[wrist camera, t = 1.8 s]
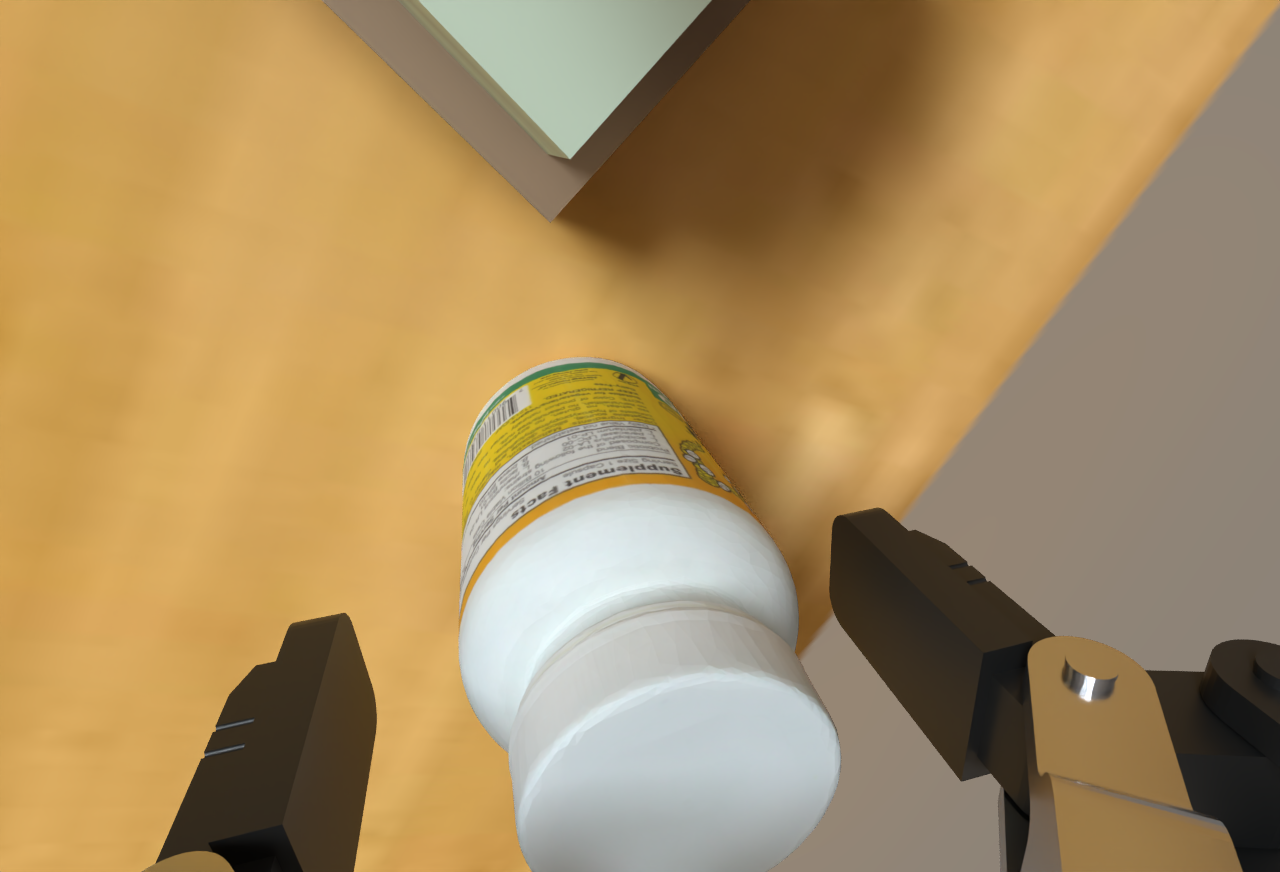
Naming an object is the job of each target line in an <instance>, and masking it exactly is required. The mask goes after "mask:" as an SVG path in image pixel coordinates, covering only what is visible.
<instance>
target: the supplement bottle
mask: <svg viewBox="0 0 1280 872" xmlns="http://www.w3.org/2000/svg"><path fill="white" fill-rule="evenodd" d="M798 626H799V612H798V600H797V594H796V588H795V585H794V582H793V579H792V576H791V572H790V570H789V568H788V565H787V563H786V561H785V559H784V557H783V555H782V553H781V552H780V550H779V548H778V547H777V545H776V544H775V542H774V541H773V539H772V538H771V536H770V535H769V533H768V532H767V531H766V529H765V528H764V527H763V525H762V524H761V522H760V521H759V520H758V518H757V517H756V515H755V514H754V513H753V511H752V510H751V509H750V507H749V506H748V505H747V503H746V502H745V500H744V499H743V497H742V496H741V495H740V493H739V492H738V490H737V489H736V487H735V486H734V485H733V484H732V483H731V481H730V480H729V479H728V477H727V476H726V475H725V473H724V472H723V471H722V469H721V468H720V467H719V465H718V464H717V463H716V462H715V460H714V459H713V458H712V456H711V455H710V454H709V452H708V451H707V450H706V448H705V447H704V446H703V444H702V443H701V441H700V440H699V439H698V437H697V436H696V434H695V433H694V431H693V430H692V429H691V427H690V426H689V425H688V423H687V422H686V421H685V419H684V418H683V416H682V415H681V414H680V412H679V411H678V410H677V409H676V408H675V406H674V405H673V404H672V403H671V401H670V400H669V399H668V398H667V397H666V396H665V395H664V394H663V393H662V392H661V391H660V390H659V389H658V388H657V387H656V386H655V385H654V384H653V383H651V382H650V381H649V380H648V379H646V378H645V377H644V376H643V375H641V374H640V373H638V372H637V371H635V370H633V369H631V368H629V367H627V366H625V365H623V364H621V363H618V362H614V361H611V360H607V359H602V358H593V357H573V358H565V359H559V360H554V361H550V362H546V363H543V364H541V365H538V366H535V367H533V368H531V369H529V370H527V371H525V372H523V373H521V374H520V375H518V376H517V377H515V378H513V379H512V380H510V381H509V382H508V383H507V384H505V385H504V386H503V387H502V388H501V389H499V390H498V391H497V392H496V393H495V394H494V395H493V396H492V397H491V399H490V400H489V401H488V402H487V404H486V405H485V406H484V408H483V409H482V411H481V412H480V413H479V415H478V417H477V419H476V421H475V423H474V425H473V427H472V430H471V432H470V435H469V438H468V441H467V446H466V451H465V457H464V467H463V512H462V556H461V575H460V606H459V663H460V669H461V675H462V681H463V684H464V688H465V691H466V694H467V697H468V699H469V702H470V705H471V707H472V709H473V711H474V712H475V714H476V716H477V718H478V719H479V721H480V722H481V724H482V725H483V727H484V728H485V729H486V731H487V732H488V733H489V735H490V736H491V737H492V738H493V739H494V740H495V741H496V742H497V743H498V744H499V745H500V746H501V747H502V748H503V749H504V750H505V751H507V752H508V753H509V769H510V773H511V777H512V784H513V797H514V809H515V821H516V828H517V836H518V840H519V844H520V848H521V851H522V853H523V856H524V858H525V860H526V862H527V864H528V866H529V867H530V869H531V871H532V872H767V871H769V870H770V869H772V868H773V867H775V866H776V865H778V864H779V863H780V862H782V861H783V860H784V859H785V858H787V857H788V856H789V855H790V854H791V853H792V852H793V851H794V850H796V849H797V848H798V847H799V846H800V845H801V844H802V842H803V841H804V840H805V839H806V838H807V837H808V835H809V834H810V833H811V832H812V831H813V830H814V829H815V828H816V826H817V825H818V823H819V822H820V820H821V819H822V817H823V816H824V814H825V812H826V810H827V808H828V806H829V804H830V802H831V800H832V798H833V796H834V793H835V791H836V788H837V785H838V780H839V775H840V769H841V751H840V744H839V739H838V734H837V729H836V727H835V725H834V723H833V721H832V719H831V716H830V715H829V713H828V711H827V709H826V707H825V706H824V704H823V702H822V700H821V699H820V697H819V695H818V693H817V692H816V690H815V688H814V687H813V685H812V683H811V681H810V679H809V678H808V676H807V674H806V672H805V670H804V668H803V666H802V664H801V662H800V661H799V659H798V657H797V655H796V654H795V648H796V643H797V636H798Z"/></svg>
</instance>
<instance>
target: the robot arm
mask: <svg viewBox="0 0 1280 872" xmlns="http://www.w3.org/2000/svg"><path fill="white" fill-rule="evenodd" d="M829 592H830V599H831V604H832V607H833V611H834V613H835V616H836V618H837V620H838V621H839V623H840V625H841V626H842V628H843V629H844V630H845V632H846V633H847V634H848V635H849V637H850V638H851V639H852V641H853V642H854V643H855V645H856V646H857V647H858V648H859V650H860V651H861V652H862V654H863V655H864V656H865V657H866V659H867V660H868V661H869V663H870V664H871V665H872V666H873V668H874V669H875V670H876V672H877V673H878V674H879V676H880V677H881V678H882V680H883V681H884V682H885V683H886V685H887V686H888V687H889V689H890V690H891V691H892V692H893V694H894V695H895V696H896V698H897V699H898V700H899V702H900V703H901V704H902V705H903V707H904V708H905V709H906V711H907V712H908V713H909V714H910V716H911V717H912V718H913V720H914V721H915V722H916V724H917V725H918V726H919V727H920V729H921V730H922V731H923V733H924V734H925V735H926V736H927V738H928V739H929V740H930V742H931V743H932V744H933V746H934V747H935V748H936V749H937V751H938V752H939V753H940V755H941V756H942V757H943V759H944V760H945V761H946V762H947V764H948V765H949V766H950V768H951V769H952V770H953V771H954V773H955V774H956V775H957V777H958V778H959V779H960V781H966V780H969V779H972V778H976V777H979V776H983V775H987V774H990V773H991V774H992V775H993V776H994V778H995V779H996V780H997V781H998V782H999V784H1000V785H1001V788H1000V793H999V800H998V813H999V843H1000V844H999V845H1000V872H1280V645H1276V644H1271V643H1268V642H1262V641H1256V640H1230V641H1226V642H1222V643H1220V644H1218V645H1217V646H1215V647H1214V649H1213V650H1212V652H1211V655H1210V658H1209V660H1208V663H1207V666H1206V669H1205V672H1187V671H1186V672H1185V671H1148V670H1147V671H1146V670H1144V669H1143V668H1142V667H1141V666H1140V665H1139V664H1137V663H1136V662H1135V661H1134V660H1132V659H1131V658H1129V657H1128V656H1126V655H1125V654H1123V653H1122V652H1120V651H1118V650H1116V649H1114V648H1112V647H1110V646H1107V645H1105V644H1102V643H1099V642H1096V641H1093V640H1088V639H1085V638H1079V637H1072V636H1055V635H1054V634H1053V633H1051V632H1050V631H1049V630H1048V629H1047V628H1045V627H1044V626H1043V625H1042V624H1041V623H1039V622H1038V621H1037V620H1036V619H1035V618H1033V617H1032V616H1031V615H1030V614H1028V613H1027V612H1026V611H1025V610H1024V609H1023V608H1021V607H1020V606H1019V605H1018V604H1017V603H1016V602H1014V601H1013V600H1012V599H1011V598H1010V597H1008V596H1007V595H1006V594H1005V593H1004V592H1002V591H1001V590H1000V589H999V588H998V587H996V586H995V585H994V584H993V583H992V582H990V581H989V582H987V581H986V579H985V577H984V576H983V575H982V574H981V573H980V572H979V571H977V570H976V569H975V568H974V567H973V566H968V564H967V561H965V560H964V559H963V558H962V557H961V556H960V555H958V554H957V553H956V552H955V551H954V550H952V549H951V548H950V547H949V546H948V545H946V544H945V543H943V542H941V541H939V540H937V539H934V538H932V537H930V536H928V535H925V534H923V533H921V532H919V531H917V530H912V531H908V530H907V529H906V528H904V527H903V526H902V525H901V524H900V523H899V522H898V521H897V520H895V519H894V518H893V517H892V516H891V515H890V514H889V513H887V512H886V511H885V510H884V509H881V508H874V509H869V510H864V511H859V512H854V513H849V514H844V515H839V516H837V517H836V518H835V519H834V522H833V526H832V543H831V564H830V586H829ZM376 725H377V713H376V702H375V696H374V691H373V687H372V684H371V681H370V678H369V675H368V671H367V668H366V665H365V662H364V659H363V656H362V653H361V650H360V647H359V643H358V640H357V637H356V634H355V631H354V628H353V625H352V622H351V620H350V618H349V616H348V615H347V614H346V613H341V614H336V615H331V616H326V617H321V618H316V619H311V620H306V621H301V622H296V623H292V624H291V625H290V626H289V628H288V630H287V633H286V636H285V638H284V641H283V644H282V646H281V649H280V652H279V654H278V657H277V660H276V661H275V662H271V663H266V664H261V665H256V666H255V667H254V668H253V669H252V670H251V672H250V673H249V674H248V675H247V676H246V677H245V678H244V679H243V680H242V681H241V683H240V684H239V685H238V686H237V687H236V688H235V689H234V690H233V691H232V692H231V694H230V695H229V696H228V699H227V701H226V703H225V706H224V708H223V710H222V713H221V715H220V717H219V719H218V722H217V724H216V732H213V733H212V735H211V738H210V740H209V742H208V745H207V747H206V749H205V751H204V753H205V758H203V759H201V761H200V763H199V765H198V767H197V770H196V772H195V774H194V777H193V779H192V781H191V784H190V786H189V788H188V790H187V793H186V795H185V797H184V800H183V802H182V804H181V806H180V809H179V811H178V813H177V816H176V818H175V820H174V822H173V825H172V827H171V829H170V832H169V834H168V836H167V838H166V841H165V843H164V845H163V848H162V850H161V852H160V855H159V857H158V859H157V861H156V863H155V864H154V865H152V866H150V867H148V868H147V869H145V870H144V871H142V872H354V866H355V860H356V854H357V847H358V841H359V835H360V829H361V822H362V816H363V810H364V804H365V797H366V791H367V785H368V778H369V772H370V766H371V760H372V753H373V747H374V741H375V735H376Z"/></svg>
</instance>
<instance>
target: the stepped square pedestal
mask: <svg viewBox="0 0 1280 872" xmlns="http://www.w3.org/2000/svg"><path fill="white" fill-rule="evenodd" d="M322 1H323V2H324V3H325V4H326V5H327V6H328V7H329V8H330V9H331V10H332V11H333V12H334V13H335V14H336V15H337V16H338V17H339V18H340V19H342V20H343V21H344V22H345V23H346V24H347V25H348V26H349V27H350V28H351V29H352V30H353V31H354V32H355V33H356V34H357V35H358V36H359V37H360V38H361V39H362V40H363V41H364V42H365V43H366V44H367V45H368V46H369V47H370V48H371V49H372V50H373V51H374V52H375V53H376V54H377V55H378V56H379V57H381V58H382V59H383V60H384V61H385V62H386V63H387V64H388V65H389V66H390V67H391V68H392V69H393V70H394V71H395V72H396V73H397V74H398V75H399V76H400V77H401V78H402V79H403V80H404V81H405V82H406V83H407V84H408V85H409V86H410V87H411V88H412V89H413V90H414V91H415V92H416V93H417V94H419V95H420V96H421V97H422V98H423V99H424V100H425V101H426V102H427V103H428V104H429V105H430V106H431V107H432V108H433V109H434V110H435V111H436V112H437V113H438V114H439V115H440V116H441V117H442V118H443V119H444V120H445V121H446V122H447V123H448V124H449V125H450V126H451V127H452V128H453V129H454V130H455V131H456V132H458V133H459V134H460V135H461V136H462V137H463V138H464V139H465V140H466V141H467V142H468V143H469V144H470V145H471V146H472V147H473V148H474V149H475V150H476V151H477V152H478V153H479V154H480V155H481V156H482V157H483V158H484V159H485V160H486V161H487V162H488V163H489V164H490V165H491V166H492V167H493V168H494V169H496V170H497V171H498V172H499V173H500V174H501V175H502V176H503V177H504V178H505V179H506V180H507V181H508V182H509V183H510V184H511V185H512V186H513V187H514V188H515V189H516V190H517V191H518V192H519V193H520V194H521V195H522V196H523V197H524V198H525V199H526V200H527V201H528V202H529V203H530V204H531V205H532V206H533V207H535V208H536V209H537V210H538V211H539V212H540V213H541V214H542V215H543V216H544V217H545V218H546V219H547V220H548V221H549V222H550V223H551V221H552V220H553V219H554V218H555V217H556V216H557V215H558V214H559V213H560V211H561V210H562V209H563V208H564V207H565V206H566V205H567V204H568V203H569V201H570V200H571V199H572V198H573V197H574V196H575V195H576V194H577V193H578V191H579V190H580V189H581V188H582V187H583V186H584V185H585V184H586V182H587V181H588V180H589V179H590V178H591V177H592V176H593V175H594V174H595V172H596V171H597V170H598V169H599V168H600V167H601V166H602V165H603V164H604V162H605V161H606V160H607V159H608V158H609V157H610V156H611V155H612V154H613V152H614V151H615V150H616V149H617V148H618V147H619V146H620V145H621V144H622V142H623V141H624V140H625V139H626V138H627V137H628V136H629V135H630V134H631V132H632V131H633V130H634V129H635V128H636V127H637V126H638V125H639V124H640V122H641V121H642V120H643V119H644V118H645V117H646V116H647V115H648V114H649V112H650V111H651V110H652V109H653V108H654V107H655V106H656V105H657V104H658V102H659V101H660V100H661V99H662V98H663V97H664V96H665V95H666V94H667V92H668V91H669V90H670V89H671V88H672V87H673V86H674V85H675V84H676V82H677V81H678V80H679V79H680V78H681V77H682V76H683V75H684V74H685V72H686V71H687V70H688V69H689V68H690V67H691V66H692V65H693V64H694V62H695V61H696V60H697V59H698V58H699V57H700V56H701V55H702V54H703V52H704V51H705V50H706V49H707V48H708V47H709V46H710V45H711V44H712V42H713V41H714V40H715V39H716V38H717V37H718V36H719V35H720V34H721V32H722V31H723V30H724V29H725V28H726V27H727V26H728V25H729V24H730V22H731V21H732V20H733V19H734V18H735V17H736V16H737V15H738V14H739V12H740V11H741V10H742V9H743V8H744V7H745V6H746V5H747V4H748V2H749V1H750V0H322Z"/></svg>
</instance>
